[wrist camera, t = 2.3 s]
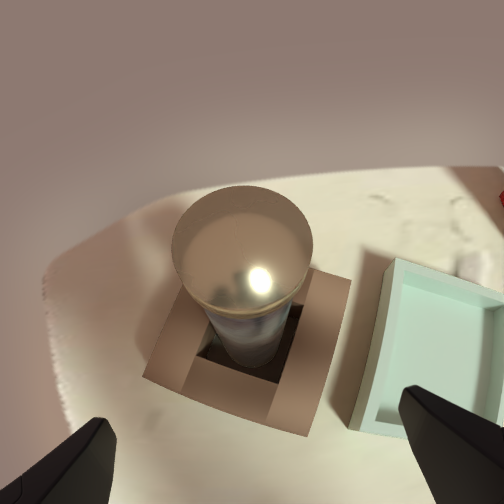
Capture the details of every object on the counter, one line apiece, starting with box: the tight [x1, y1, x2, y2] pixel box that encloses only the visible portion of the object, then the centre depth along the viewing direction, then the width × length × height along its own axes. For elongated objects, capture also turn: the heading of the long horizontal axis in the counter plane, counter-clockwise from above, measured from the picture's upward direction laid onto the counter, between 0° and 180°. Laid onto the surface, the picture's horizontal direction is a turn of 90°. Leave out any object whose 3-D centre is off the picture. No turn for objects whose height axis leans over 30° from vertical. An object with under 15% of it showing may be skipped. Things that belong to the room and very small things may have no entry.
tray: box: [348, 258, 504, 439], centre depth 17 cm, size 12×12×2 cm
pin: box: [172, 186, 313, 368], centre depth 14 cm, size 4×4×13 cm
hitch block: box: [142, 268, 351, 437], centre depth 19 cm, size 10×10×3 cm
